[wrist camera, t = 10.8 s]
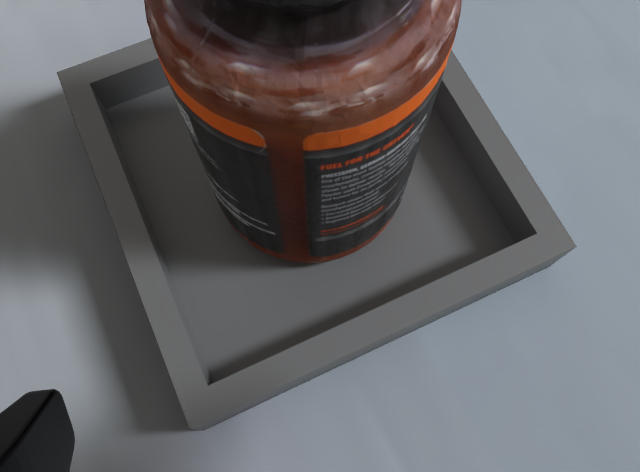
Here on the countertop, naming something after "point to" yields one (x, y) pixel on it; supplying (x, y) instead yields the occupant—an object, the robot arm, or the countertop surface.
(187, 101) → the supplement bottle
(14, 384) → the countertop surface
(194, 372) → the grey square tray
